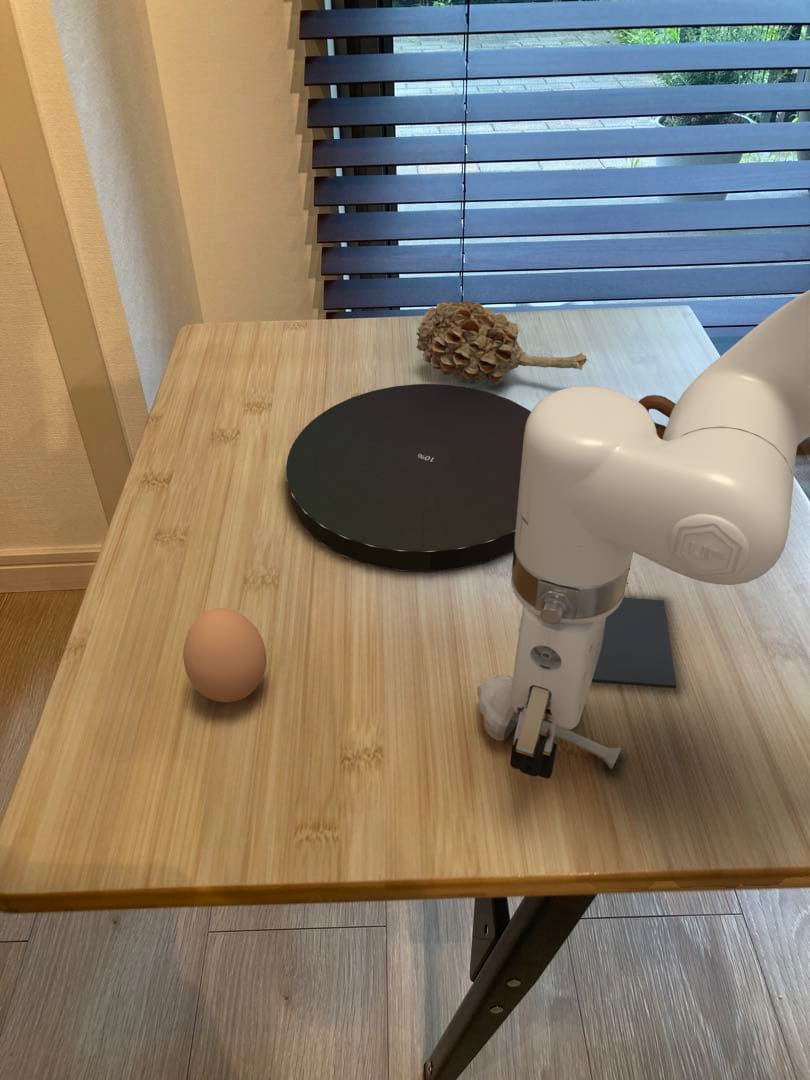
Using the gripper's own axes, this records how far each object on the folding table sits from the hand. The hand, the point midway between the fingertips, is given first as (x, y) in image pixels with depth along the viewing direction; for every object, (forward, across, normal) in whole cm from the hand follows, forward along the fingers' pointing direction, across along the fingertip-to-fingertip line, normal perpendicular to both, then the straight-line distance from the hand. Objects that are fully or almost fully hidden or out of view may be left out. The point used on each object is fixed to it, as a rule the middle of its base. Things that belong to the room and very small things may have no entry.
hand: (545, 724), depth 67 cm
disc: (+2, +28, +21) cm, 35 cm away
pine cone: (+2, +50, +19) cm, 54 cm away
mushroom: (+2, 0, 0) cm, 2 cm away
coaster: (+1, +12, -3) cm, 12 cm away
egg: (+2, -5, +26) cm, 27 cm away
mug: (+2, +38, -5) cm, 38 cm away
